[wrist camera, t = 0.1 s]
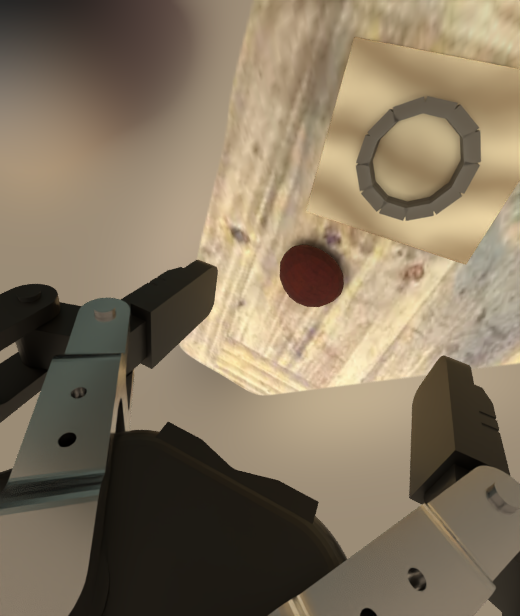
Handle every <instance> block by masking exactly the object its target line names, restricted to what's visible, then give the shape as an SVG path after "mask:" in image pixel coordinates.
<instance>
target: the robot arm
mask: <svg viewBox="0 0 520 616" xmlns="http://www.w3.org/2000/svg"><path fill="white" fill-rule="evenodd" d="M217 274H218V270H217V267H215V266H213V265H210V264H208V263H205V262H203V261H200V260H196V261H194V262H193V263H191V264H189V265H188V266H186V267H185V268H182V267H179V268H176V269H172V270H168V271H166V272H164V273H163V274H161V275H160V276H158V278H155V279H153V280H152V281H150V283H147V284H145V285H143V286H142V287H140V288H139V289H137V290H136V291H134V292H133V293H131V294H129V295H127V296H126V297H124V298H123V299H121V300H120V299H116V298H98V299H95V300H92V301H89V302H87V303H85V304H84V305H83V306H77V305H71V304H66V303H61V302H59V298H58V293H57V291H56V290H55V289H54V288H53V287H51V286H48V285H43V284H28V285H22V286H19V287H15V288H13V289H10V290H9V291H6V292H4V293H2V294H0V351H1V350H3V349H4V348H6V347H8V346H9V345H11V344H12V343H14V342H16V345H17V348H18V351H19V352H17V353H16V354H14V355H13V356H11V357H10V358H9V359H7V360H5V361H4V362H2V363H0V422H2V421H3V420H4V419H6V418H7V417H8V416H9V415H11V414H12V413H13V412H14V411H16V410H17V409H18V408H19V407H21V406H22V405H23V404H24V403H26V402H27V401H28V400H29V399H31V398H32V397H33V396H34V395H36V394H37V393H38V392H40V391H41V392H40V395H39V397H38V400H37V403H36V406H35V409H34V411H33V414H32V417H31V419H30V422H29V425H28V428H27V430H26V433H25V436H24V439H23V442H22V444H21V447H20V450H19V453H18V455H17V458H16V461H15V464H14V466H13V468H12V469H9V470H6V471H3V472H0V616H474V615H475V614H476V612H477V611H478V610H479V609H480V608H481V606H482V605H483V604H484V603H485V602H486V601H487V600H489V601H490V602H492V604H494V605H495V606H496V607H497V608H498V609H499V610H500V611H501V612H502V616H520V484H519V483H518V482H517V481H516V480H515V479H513V478H512V477H511V476H510V473H509V469H508V464H507V460H506V456H505V453H504V448H503V444H502V440H501V436H500V433H499V432H498V431H499V427H498V423H497V421H496V420H495V419H496V415H495V411H494V407H493V403H492V402H491V400H490V399H489V397H488V396H487V394H486V393H485V391H484V390H483V389H482V388H481V387H479V386H476V385H474V382H473V376H472V372H471V367H470V366H469V365H467V364H465V363H462V362H460V361H457V360H454V359H452V358H449V357H447V356H441V357H440V358H439V359H438V361H437V362H436V363H435V365H434V366H433V368H432V369H431V371H430V372H429V373H428V375H427V376H426V378H425V379H424V381H423V382H422V384H421V385H420V386H419V388H418V390H417V392H416V394H415V397H414V400H413V404H412V431H411V461H410V492H409V493H410V494H409V495H410V496H409V498H410V499H412V500H414V501H416V502H418V503H420V504H422V505H421V506H419V507H418V508H417V509H415V510H414V511H412V512H411V513H410V514H408V515H407V516H406V517H404V518H403V519H402V520H400V521H399V522H398V523H396V524H395V525H393V526H392V527H391V528H389V529H388V530H387V531H385V532H384V533H383V534H381V535H380V536H379V537H377V538H376V539H374V540H373V541H372V542H370V543H369V544H368V545H366V546H365V547H364V548H362V549H361V550H360V551H358V552H357V553H355V554H354V555H353V556H351V557H350V558H349V559H347V558H346V556H345V554H344V552H343V551H342V549H341V547H340V545H339V544H338V542H337V541H336V539H335V538H334V536H333V535H332V534H331V532H330V531H329V530H328V529H327V528H326V527H325V525H324V524H323V523H322V522H321V521H320V520H319V519H318V518H317V517H316V516H315V514H316V510H317V506H318V501H316V500H314V499H312V498H310V497H308V496H306V495H304V494H303V493H301V492H299V491H297V490H295V489H293V488H291V487H290V486H288V485H285V484H284V483H282V482H280V481H278V480H275V479H270V478H266V477H262V476H258V475H254V474H250V473H246V472H242V471H238V470H235V469H233V468H232V467H230V466H229V465H228V464H227V463H226V462H225V461H224V460H223V459H222V458H221V457H220V456H219V455H218V454H217V453H216V452H215V451H213V450H212V449H211V448H210V447H209V446H208V445H207V444H206V443H205V442H204V441H203V440H201V439H200V438H198V437H196V436H194V435H192V434H190V433H189V432H187V431H185V430H183V429H181V428H179V427H177V426H175V425H174V424H172V423H170V422H167V424H166V425H165V426H164V427H163V428H162V430H161V431H160V432H157V431H151V430H132V431H130V418H131V407H132V395H133V382H134V368H135V367H136V366H138V365H139V364H140V363H141V364H143V365H145V366H147V367H149V368H151V369H152V368H153V367H154V366H156V365H157V364H158V363H159V362H160V361H161V360H162V359H163V358H164V357H165V356H166V355H167V354H168V353H169V352H170V351H171V350H172V349H173V348H174V347H175V346H177V345H178V344H179V343H180V342H181V341H182V340H183V339H184V338H185V337H186V336H187V335H188V334H189V333H190V332H191V331H192V330H194V329H195V328H196V327H197V326H198V325H199V324H200V323H201V322H202V321H203V320H204V319H205V318H206V317H207V316H208V315H209V313H210V312H211V310H212V307H213V305H214V299H215V291H216V282H217Z"/></svg>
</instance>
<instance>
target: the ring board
mask: <svg viewBox="0 0 520 616" xmlns="http://www.w3.org/2000/svg"><path fill="white" fill-rule="evenodd" d="M519 180H520V69H517V68H512V67H507V66H501V65H496V64H491V63H486V62H481V61H476V60H471V59H465V58H460V57H455V56H450V55H445V54H440V53H434V52H429V51H424V50H419V49H414V48H409V47H404V46H398V45H393V44H388V43H383V42H378V41H373V40H368V39H362V38H357V37H354V40H353V44H352V48H351V51H350V55H349V58H348V62H347V66H346V69H345V73H344V76H343V80H342V83H341V87H340V91H339V94H338V98H337V101H336V105H335V108H334V112H333V116H332V119H331V123H330V126H329V130H328V134H327V137H326V141H325V144H324V148H323V151H322V155H321V159H320V162H319V166H318V169H317V173H316V176H315V180H314V184H313V187H312V191H311V194H310V198H309V202H308V205H307V209H306V212H309V213H312V214H315V215H318V216H321V217H324V218H327V219H330V220H333V221H336V222H339V223H342V224H345V225H348V226H351V227H354V228H357V229H360V230H363V231H366V232H369V233H372V234H375V235H378V236H381V237H384V238H387V239H390V240H393V241H396V242H399V243H402V244H405V245H408V246H411V247H414V248H417V249H420V250H423V251H426V252H429V253H432V254H435V255H438V256H441V257H444V258H447V259H450V260H453V261H456V262H460V263H463V264H466V263H467V262H468V260H469V259H470V257H471V256H472V254H473V252H474V251H475V249H476V248H477V246H478V245H479V243H480V241H481V240H482V238H483V237H484V235H485V234H486V232H487V230H488V229H489V227H490V226H491V224H492V223H493V221H494V219H495V218H496V216H497V215H498V213H499V212H500V210H501V208H502V207H503V205H504V204H505V202H506V201H507V199H508V197H509V196H510V194H511V193H512V191H513V190H514V188H515V186H516V185H517V183H518V182H519Z"/></svg>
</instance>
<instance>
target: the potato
mask: <svg viewBox="0 0 520 616" xmlns="http://www.w3.org/2000/svg"><path fill="white" fill-rule="evenodd" d="M280 280H281V282H282V285H283V287H284V290H285V291H286V292H287V294H288V295H289V297H290V298H292V299H293V300H294V301H295V302H297V303H299V304H302V305H304V306H307V307H320V306H323V305H326V304H328V303H330V302H333V301H334V300H335V299H336V298H337V297H338V296H339V295H340V294H341V292H342V289H343V285H344V281H343V274H342V272H341V269H340V267H339V265H338V264H337V262H336V261H335V260H334V259H333V258H332V257H331V256H330V255H329V254H327V253H326V252H324V251H323V250H320V249H318V248H316V247H312V246H309V245H298V246H294V247H292V248H291V249H290V250H288V251H287V252H286V253H285V254H284V256H283V258H282V260H281V262H280Z"/></svg>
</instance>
